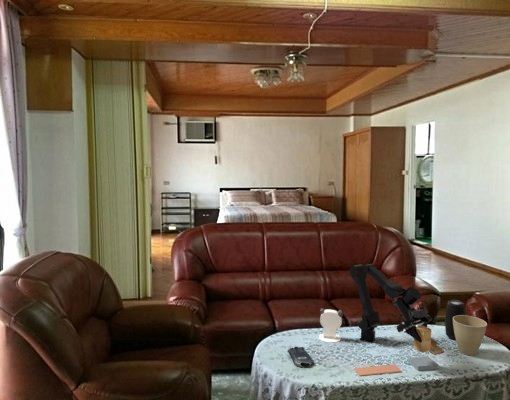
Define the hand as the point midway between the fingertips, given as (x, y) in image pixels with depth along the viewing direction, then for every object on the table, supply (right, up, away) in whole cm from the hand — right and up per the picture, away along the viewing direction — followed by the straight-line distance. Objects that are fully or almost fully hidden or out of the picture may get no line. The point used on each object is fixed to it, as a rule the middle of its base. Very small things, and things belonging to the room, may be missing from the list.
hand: (425, 340), depth 187 cm
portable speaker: (+29, -10, +33) cm, 45 cm away
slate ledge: (0, -12, +3) cm, 12 cm away
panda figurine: (-37, -10, +32) cm, 50 cm away
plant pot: (+28, -11, +16) cm, 34 cm away
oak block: (-1, -4, +2) cm, 5 cm away
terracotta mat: (-22, -13, -2) cm, 25 cm away
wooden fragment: (+12, -11, +26) cm, 31 cm away
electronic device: (-55, -12, +8) cm, 57 cm away
